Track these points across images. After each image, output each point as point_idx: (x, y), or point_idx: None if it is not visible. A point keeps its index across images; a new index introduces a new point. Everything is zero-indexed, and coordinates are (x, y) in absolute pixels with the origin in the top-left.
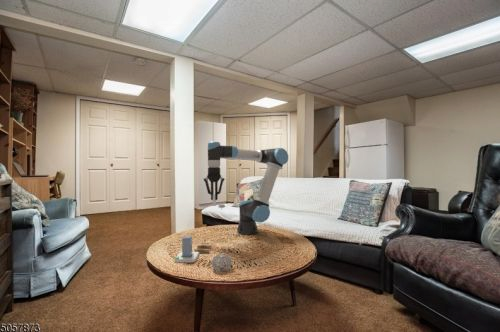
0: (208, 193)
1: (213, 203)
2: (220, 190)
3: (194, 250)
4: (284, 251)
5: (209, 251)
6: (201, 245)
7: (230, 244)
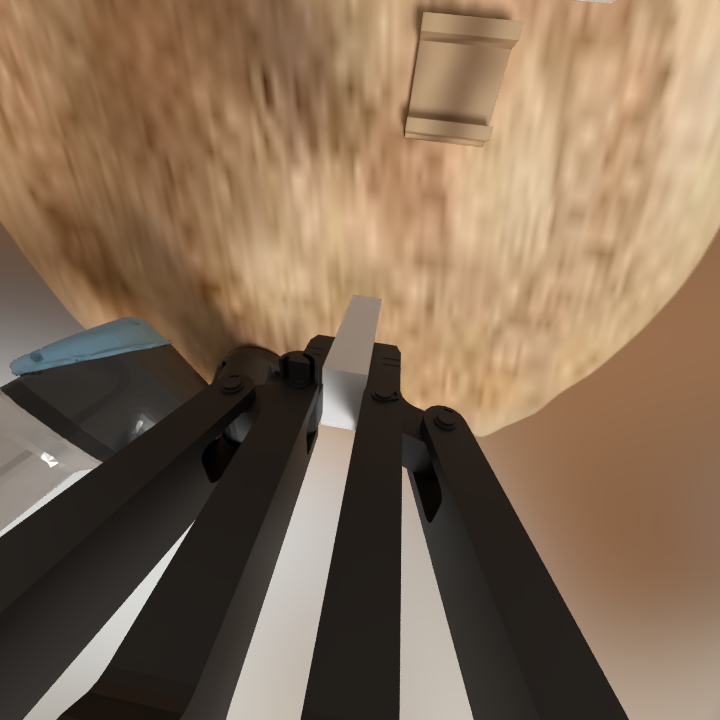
0: (453, 411)
1: (371, 308)
2: (167, 416)
3: (521, 23)
4: (35, 71)
5: (420, 37)
6: (466, 126)
7: (312, 227)
